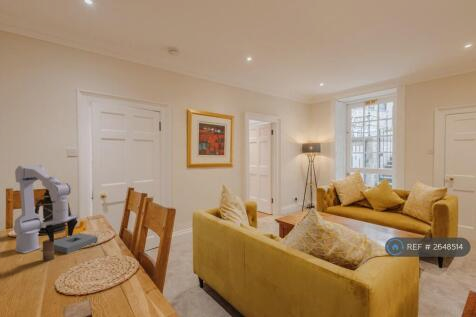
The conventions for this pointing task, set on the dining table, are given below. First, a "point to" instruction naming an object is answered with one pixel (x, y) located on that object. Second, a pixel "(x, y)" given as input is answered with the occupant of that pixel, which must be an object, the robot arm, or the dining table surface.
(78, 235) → the hole block
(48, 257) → the peg
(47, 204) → the lantern
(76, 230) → the pipe clamp
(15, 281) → the dining table surface
